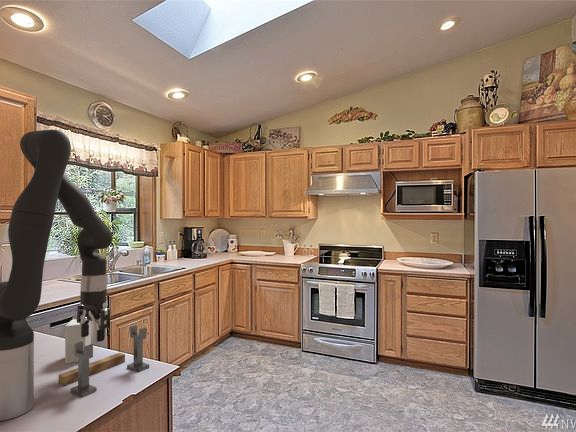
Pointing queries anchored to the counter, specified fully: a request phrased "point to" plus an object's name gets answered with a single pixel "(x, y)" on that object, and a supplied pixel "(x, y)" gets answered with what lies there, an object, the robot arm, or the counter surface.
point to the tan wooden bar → (92, 368)
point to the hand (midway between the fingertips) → (92, 338)
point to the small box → (74, 339)
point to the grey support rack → (85, 355)
